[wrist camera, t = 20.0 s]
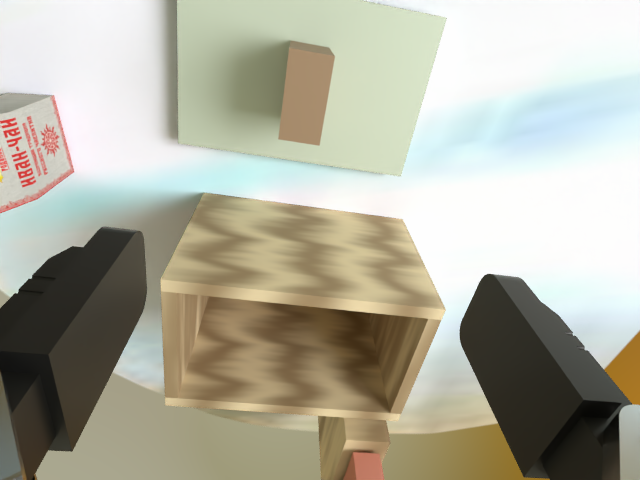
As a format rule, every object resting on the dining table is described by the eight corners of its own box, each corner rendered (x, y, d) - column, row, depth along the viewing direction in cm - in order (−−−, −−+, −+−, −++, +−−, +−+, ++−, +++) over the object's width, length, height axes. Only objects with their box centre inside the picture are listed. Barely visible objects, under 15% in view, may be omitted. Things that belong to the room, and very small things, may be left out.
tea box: (32, 169, 36) (-50, 221, 28) (7, 92, 33) (-96, 124, 24) (74, 171, 37) (5, 223, 28) (53, 95, 33) (-33, 127, 25)
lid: (183, 137, 36) (156, 168, 29) (183, -36, 29) (148, -47, 23) (396, 169, 38) (417, 204, 32) (439, 17, 32) (477, 20, 25)
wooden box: (199, 378, 52) (165, 504, 39) (203, 192, 38) (155, 289, 25) (349, 389, 54) (365, 511, 41) (402, 219, 41) (450, 320, 28)
